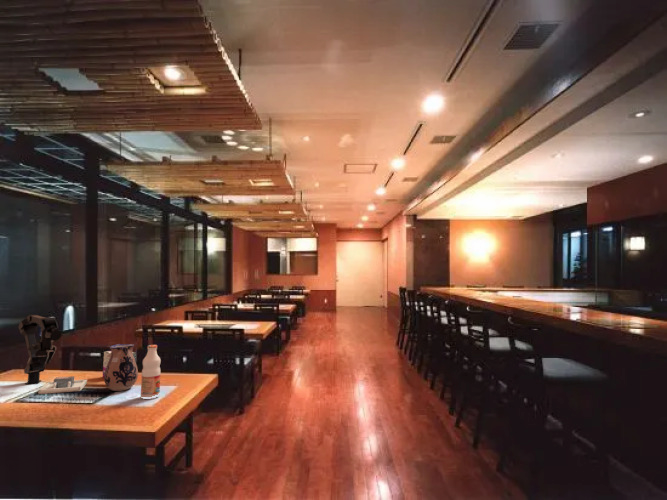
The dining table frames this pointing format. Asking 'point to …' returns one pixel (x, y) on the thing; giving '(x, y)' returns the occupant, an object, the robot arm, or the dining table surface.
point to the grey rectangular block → (64, 381)
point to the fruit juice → (151, 373)
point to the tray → (51, 388)
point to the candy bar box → (106, 360)
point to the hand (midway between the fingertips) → (45, 365)
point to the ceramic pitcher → (121, 368)
